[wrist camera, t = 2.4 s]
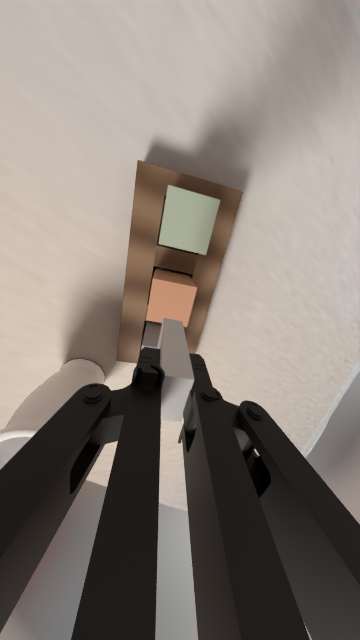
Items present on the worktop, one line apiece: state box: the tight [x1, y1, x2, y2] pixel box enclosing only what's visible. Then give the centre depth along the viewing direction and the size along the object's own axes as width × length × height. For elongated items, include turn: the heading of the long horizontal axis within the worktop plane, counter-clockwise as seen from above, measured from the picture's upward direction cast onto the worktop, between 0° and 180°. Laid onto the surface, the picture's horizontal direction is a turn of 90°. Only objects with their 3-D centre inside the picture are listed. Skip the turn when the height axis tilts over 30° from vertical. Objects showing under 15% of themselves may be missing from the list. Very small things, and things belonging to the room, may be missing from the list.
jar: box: [0, 359, 105, 469], centre depth 29 cm, size 11×10×15 cm
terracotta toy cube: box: [146, 269, 197, 327], centre depth 24 cm, size 5×5×8 cm
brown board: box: [117, 160, 243, 363], centre depth 28 cm, size 28×13×3 cm, turn 167°
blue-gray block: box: [141, 321, 162, 350], centre depth 27 cm, size 5×5×8 cm
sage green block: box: [158, 185, 220, 255], centre depth 21 cm, size 5×5×8 cm
